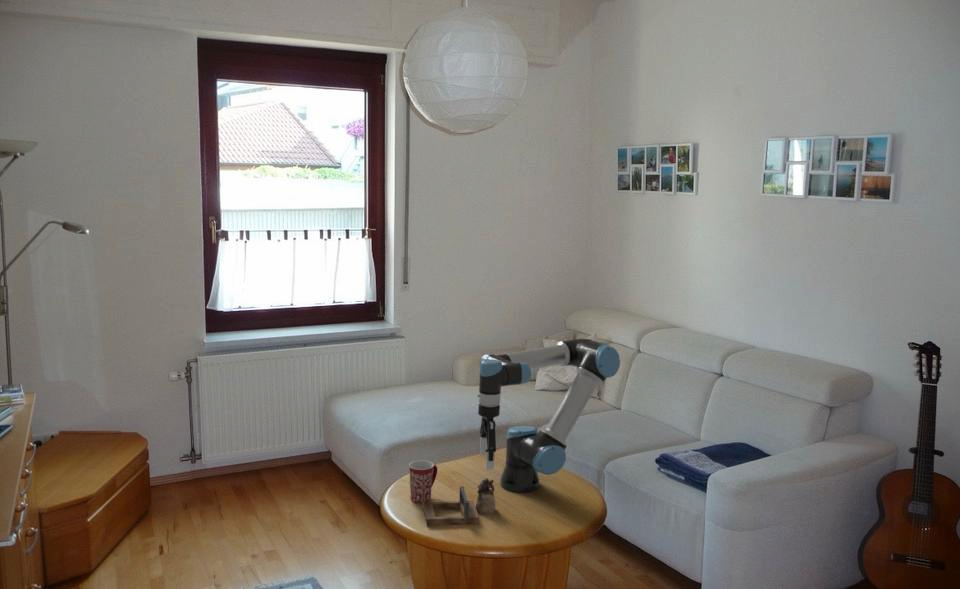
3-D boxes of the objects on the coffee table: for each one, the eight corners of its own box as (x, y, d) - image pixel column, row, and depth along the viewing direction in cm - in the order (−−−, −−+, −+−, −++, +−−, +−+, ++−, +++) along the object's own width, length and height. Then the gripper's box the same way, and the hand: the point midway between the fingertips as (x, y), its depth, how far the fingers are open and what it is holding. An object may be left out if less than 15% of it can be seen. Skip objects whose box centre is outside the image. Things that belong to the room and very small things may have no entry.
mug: (420, 507, 286) (421, 471, 284) (403, 499, 292) (403, 464, 289) (444, 497, 295) (445, 462, 293) (427, 490, 301) (428, 455, 299)
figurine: (481, 504, 290) (483, 473, 288) (498, 509, 286) (500, 477, 284) (471, 511, 284) (472, 479, 282) (489, 516, 280) (490, 484, 278)
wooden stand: (473, 507, 287) (473, 486, 286) (478, 524, 274) (479, 502, 272) (423, 508, 284) (423, 487, 283) (426, 526, 271) (427, 503, 270)
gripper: (473, 394, 290) (471, 449, 293) (484, 414, 266) (481, 475, 269) (493, 393, 291) (491, 449, 295) (506, 414, 267) (503, 475, 270)
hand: (486, 462), depth 282 cm, fingers open, 13 cm apart
